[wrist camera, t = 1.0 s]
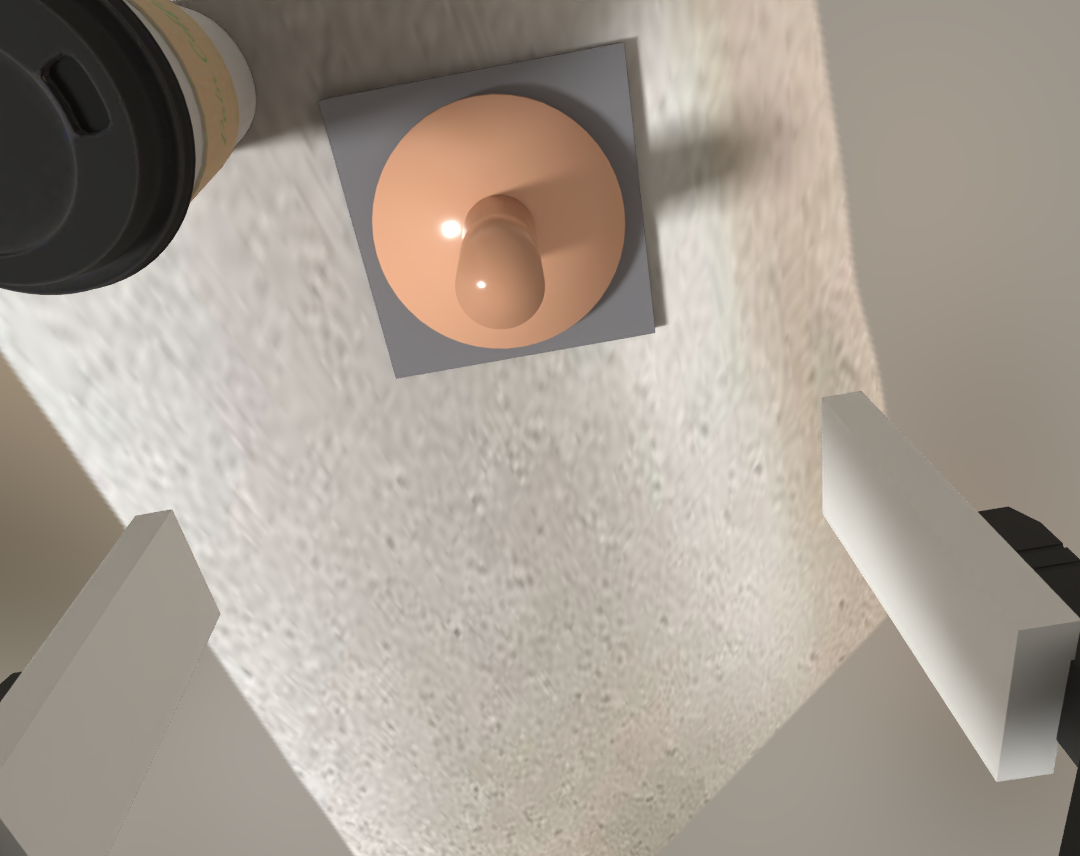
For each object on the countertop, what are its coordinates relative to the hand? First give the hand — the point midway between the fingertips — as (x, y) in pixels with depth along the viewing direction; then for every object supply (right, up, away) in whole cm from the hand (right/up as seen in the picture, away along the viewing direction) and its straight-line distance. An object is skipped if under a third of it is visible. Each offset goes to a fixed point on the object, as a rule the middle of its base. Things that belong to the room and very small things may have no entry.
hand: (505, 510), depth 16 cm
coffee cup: (-14, +16, +18) cm, 28 cm away
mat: (-1, +11, +21) cm, 24 cm away
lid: (-1, +11, +20) cm, 23 cm away
